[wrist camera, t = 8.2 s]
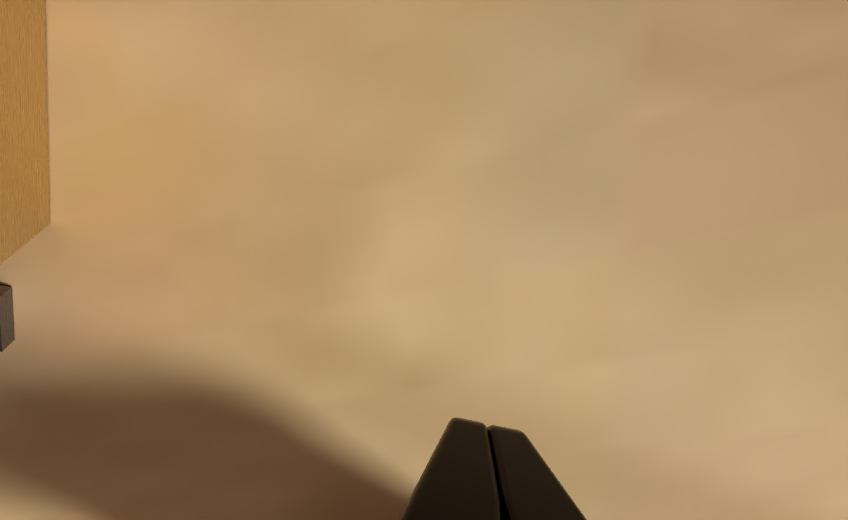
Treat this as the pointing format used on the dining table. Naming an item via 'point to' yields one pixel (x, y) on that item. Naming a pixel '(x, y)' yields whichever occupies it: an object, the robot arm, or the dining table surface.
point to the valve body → (22, 137)
